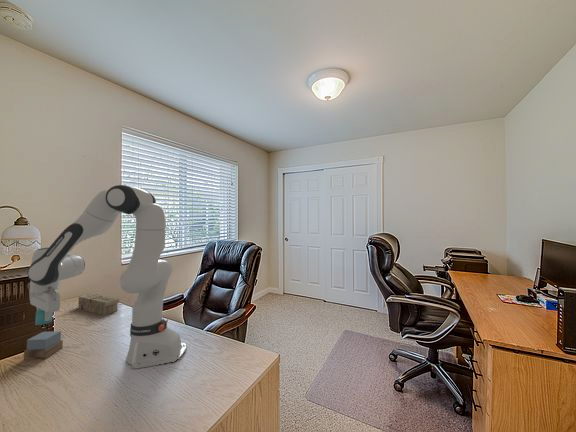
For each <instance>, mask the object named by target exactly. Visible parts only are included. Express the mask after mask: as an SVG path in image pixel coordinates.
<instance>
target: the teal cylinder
mask: <svg viewBox="0 0 576 432" xmlns="http://www.w3.org/2000/svg"><path fill="white" fill-rule="evenodd" d="M53 315H54V312H52V315H51V319H50V320H48V321H45V320H44V316H45V311H43V310H38V311H37V310H36V311H35V320H34V321H35V326H43V325H47V324H50V323H52V322H53V317H54V316H53Z"/></svg>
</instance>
